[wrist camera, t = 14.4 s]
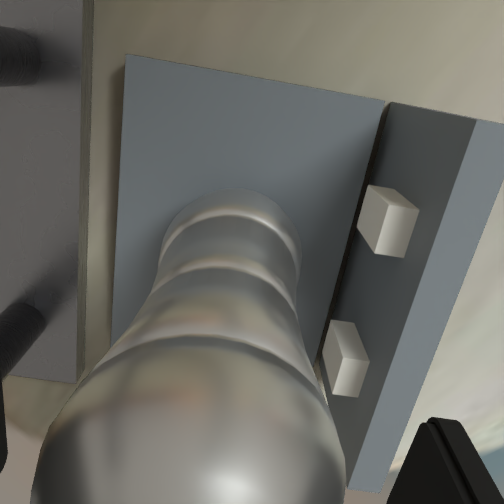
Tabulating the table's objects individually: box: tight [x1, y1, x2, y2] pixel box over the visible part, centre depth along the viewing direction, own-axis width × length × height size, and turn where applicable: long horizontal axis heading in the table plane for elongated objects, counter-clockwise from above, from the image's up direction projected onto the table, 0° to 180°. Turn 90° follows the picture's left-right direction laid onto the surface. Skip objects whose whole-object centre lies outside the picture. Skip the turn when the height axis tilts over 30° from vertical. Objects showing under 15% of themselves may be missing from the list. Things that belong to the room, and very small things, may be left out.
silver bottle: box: [30, 188, 346, 504], centre depth 14 cm, size 6×7×20 cm
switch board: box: [110, 54, 504, 493], centre depth 20 cm, size 16×14×9 cm
